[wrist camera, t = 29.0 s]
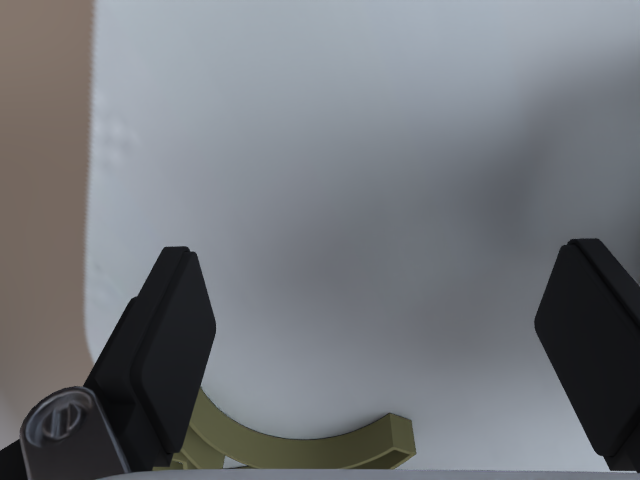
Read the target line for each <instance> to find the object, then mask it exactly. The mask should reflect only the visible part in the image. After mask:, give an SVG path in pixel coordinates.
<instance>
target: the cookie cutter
mask: <svg viewBox="0 0 640 480" xmlns="http://www.w3.org/2000/svg"><path fill="white" fill-rule="evenodd" d="M225 455H226V456H228V457H230V458H232V459H234V460H236V461H238V462H240V463H243V464H246V465H248V466H247V467H240V468H233V469H387V470H393V469H395V468H397V467H398V466H400V465H401V464H403V463H404V462H406V461H407V460H409V459H410V458H411V457H413V456H414V455H416V448H415V441H414V435H413V428H412V421H411V420H408V419H405V418H402V417H399V416H397V415H394V414H391V413H389V414H388V415H386V416H385V417H383V418H381V419H380V420H378V421H376V422H374V423H372V424H370V425H368V426H366V427H364V428H361V429H359V430H356V431H354V432H351V433H348V434H344V435H340V436H336V437H332V438H326V439H317V440H291V439H283V438H277V437H272V436H268V435H265V434H261V433H258V432H256V431H253V430H251V429H248V428H246V427H244V426H242V425H240V424H238V423H237V422H235V421H233V420H232V419H230V418H229V417H227V416H226V415H225V414H224V413H222V412H221V411H220V410H219V409H218V408H217V407H216V406H215V405H214V404H213V403H212V402H211V401H210V400H209V399H208V397H207V396H206V395H205V393H204V392H203V391H202V389H201V387H200V389H199V392H198V395H197V399H196V402H195V406H194V409H193V412H192V416H191V419H190V423H189V426H188V429H187V433H186V436H185V440H184V443H183V446H182V449H181V451H180V452H179V453H174V454H173V458H172V461H171V464H170V467H153V470H152V471H162V470H195V469H222V468H223V463H224V459H225ZM175 461H177V462H175ZM178 462H180V463H183V464H180V463H178Z"/></svg>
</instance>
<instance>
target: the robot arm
mask: <svg viewBox="0 0 640 480" xmlns="http://www.w3.org/2000/svg"><path fill="white" fill-rule="evenodd" d="M534 325H535V331H536V333H537V335H538V337H539V339H540V341H541V343H542V345H543V347H544V349H545V351H546V354H547V356H548V358H549V360H550V362H551V364H552V366H553V368H554V370H555V372H556V374H557V376H558V378H559V380H560V382H561V384H562V386H563V388H564V390H565V392H566V394H567V396H568V398H569V400H570V402H571V404H572V406H573V409H574V411H575V413H576V415H577V417H578V419H579V421H580V423H581V425H582V427H583V429H584V431H585V433H586V435H587V437H588V439H589V441H590V443H591V445H592V447H593V449H594V451H595V452H596V453H597V454H598V455H600V456H603V457H604V459H605V461H606V463H607V465H608V467H609V469H610V471H636V472H637V473H617V472H571V471H495V470H387V469H195V470H162V471H152V470H153V467H170V464H171V461H172V458H173V454H174V453H179V452H180V451H181V449H182V446H183V443H184V440H185V436H186V433H187V429H188V426H189V423H190V419H191V416H192V412H193V409H194V406H195V402H196V399H197V395H198V392H199V389H200V385H201V382H202V378H203V375H204V372H205V368H206V365H207V361H208V358H209V355H210V351H211V348H212V344H213V341H214V338H215V334H216V321H215V317H214V314H213V310H212V307H211V303H210V300H209V296H208V292H207V289H206V285H205V282H204V278H203V275H202V271H201V267H200V264H199V260H198V257H197V254H196V253H195V252H190V249H189V248H188V247H186V246H179V247H164V248H163V250H162V251H161V253H160V255H159V257H158V259H157V261H156V263H155V264H154V266H153V268H152V270H151V272H150V274H149V276H148V277H147V279H146V281H145V283H144V285H143V287H142V289H141V291H140V292H139V294H138V296H137V297H134V298H132V299H131V300H130V302H129V303H128V305H127V307H126V308H125V310H124V312H123V314H122V316H121V318H120V319H119V321H118V323H117V325H116V327H115V329H114V330H113V332H112V334H111V336H110V338H109V339H108V341H107V343H106V345H105V347H104V349H103V350H102V352H101V354H100V356H99V358H98V360H97V361H96V363H95V365H94V367H93V369H92V371H91V372H90V374H89V376H88V378H87V380H86V382H85V383H84V385H83V387H78V386H74V387H69V388H64V389H61V390H59V391H56V392H54V393H52V394H50V395H49V396H47V397H45V398H44V399H42V400H41V401H40V402H39V403H38V404H37V405H36V406H34V407H33V408H32V409H31V410H30V412H29V413H28V415H27V416H26V417H25V419H24V421H23V423H22V426H21V428H20V439H18V440H17V441H15V442H14V443H12V444H10V445H9V446H7V447H5V448H4V449H2V450H1V451H0V480H640V287H639V286H638V285H637V283H636V282H635V281H634V280H633V279H632V277H631V276H630V275H629V274H628V273H627V271H626V270H625V269H624V268H623V267H622V265H621V264H620V263H619V262H618V261H617V260H616V258H615V257H614V256H613V255H612V254H611V252H610V251H609V250H608V249H607V248H606V246H605V245H604V244H603V243H602V242H601V241H600V240H599V239H596V238H590V239H571V240H570V241H569V242H568V243H567V245H563V246H562V247H561V248H560V251H559V253H558V256H557V259H556V262H555V264H554V267H553V270H552V273H551V275H550V278H549V281H548V283H547V286H546V289H545V292H544V294H543V297H542V300H541V303H540V305H539V308H538V311H537V314H536V316H535V320H534Z"/></svg>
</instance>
